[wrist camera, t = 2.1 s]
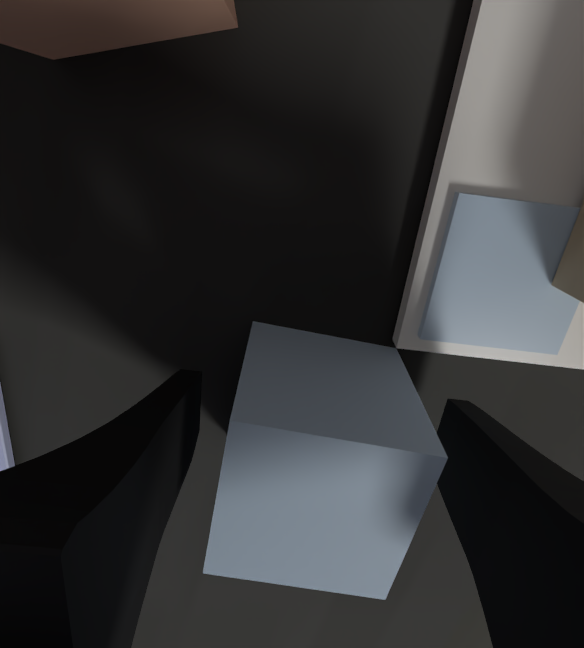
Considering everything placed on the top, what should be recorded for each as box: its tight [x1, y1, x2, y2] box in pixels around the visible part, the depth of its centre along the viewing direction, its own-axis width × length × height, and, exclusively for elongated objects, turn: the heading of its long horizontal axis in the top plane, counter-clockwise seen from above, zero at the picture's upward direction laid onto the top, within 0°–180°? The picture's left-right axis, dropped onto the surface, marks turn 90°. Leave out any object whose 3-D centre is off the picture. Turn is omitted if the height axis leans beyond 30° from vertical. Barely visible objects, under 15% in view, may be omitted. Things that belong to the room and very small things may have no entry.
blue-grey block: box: [203, 321, 448, 600], centre depth 12 cm, size 4×4×5 cm
